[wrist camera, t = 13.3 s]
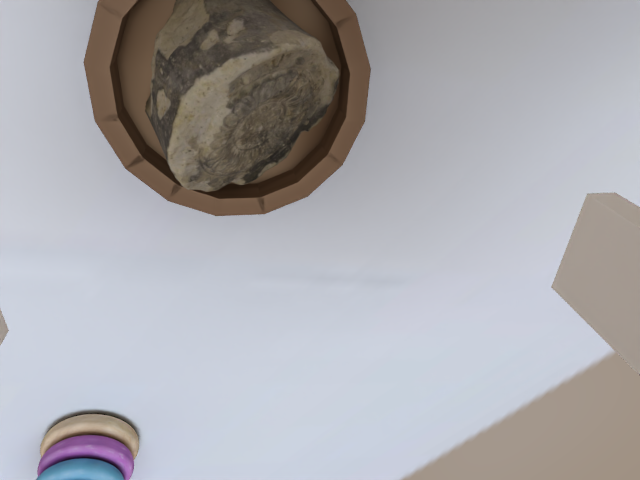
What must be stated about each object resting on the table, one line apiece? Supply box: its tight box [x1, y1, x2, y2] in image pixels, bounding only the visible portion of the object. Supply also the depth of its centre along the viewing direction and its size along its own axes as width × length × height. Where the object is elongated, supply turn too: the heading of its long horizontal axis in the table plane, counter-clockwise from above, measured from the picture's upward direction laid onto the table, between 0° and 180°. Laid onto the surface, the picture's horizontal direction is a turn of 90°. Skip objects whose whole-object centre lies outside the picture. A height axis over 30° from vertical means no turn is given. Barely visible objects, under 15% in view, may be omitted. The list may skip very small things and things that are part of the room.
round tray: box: [84, 0, 371, 216], centre depth 28 cm, size 15×15×3 cm
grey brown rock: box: [145, 0, 339, 192], centre depth 25 cm, size 11×9×10 cm
